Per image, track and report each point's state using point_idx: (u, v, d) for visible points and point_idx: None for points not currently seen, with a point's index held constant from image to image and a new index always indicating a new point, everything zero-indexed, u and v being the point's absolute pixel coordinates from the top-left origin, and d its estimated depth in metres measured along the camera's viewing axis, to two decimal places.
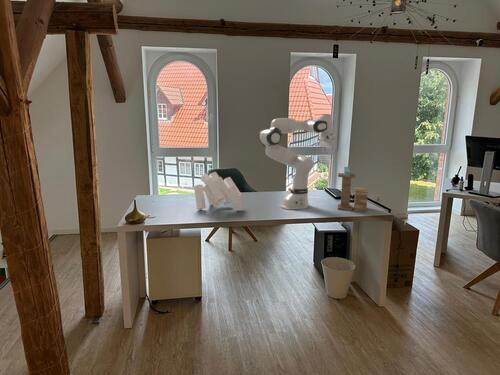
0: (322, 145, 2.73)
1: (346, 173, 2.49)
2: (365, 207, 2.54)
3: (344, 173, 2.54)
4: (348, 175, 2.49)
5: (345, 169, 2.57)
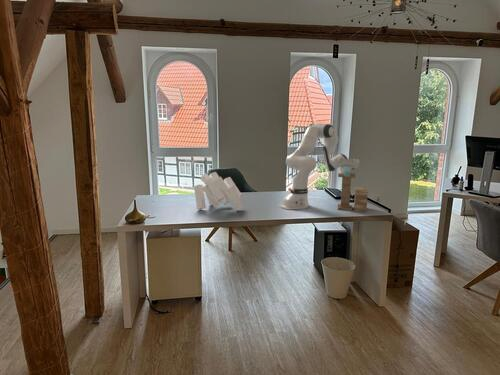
0: None
1: (346, 173, 2.49)
2: (365, 207, 2.54)
3: (344, 173, 2.54)
4: (348, 175, 2.49)
5: (345, 169, 2.57)
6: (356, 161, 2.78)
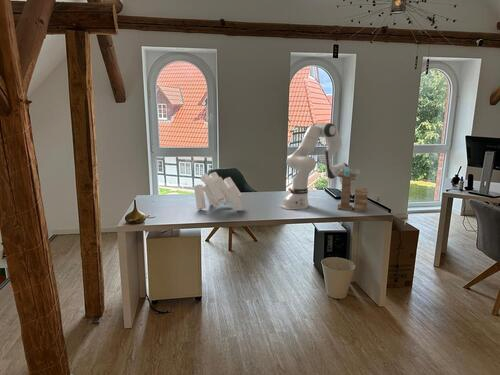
0: None
1: (346, 173, 2.49)
2: (365, 207, 2.54)
3: (344, 173, 2.54)
4: (348, 175, 2.49)
5: (345, 169, 2.57)
6: (356, 172, 2.68)
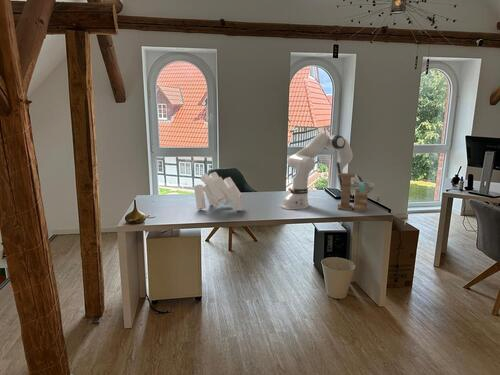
0: None
1: (361, 189, 2.47)
2: (365, 207, 2.54)
3: (359, 189, 2.52)
4: (363, 191, 2.47)
5: (360, 185, 2.55)
6: (371, 185, 2.66)
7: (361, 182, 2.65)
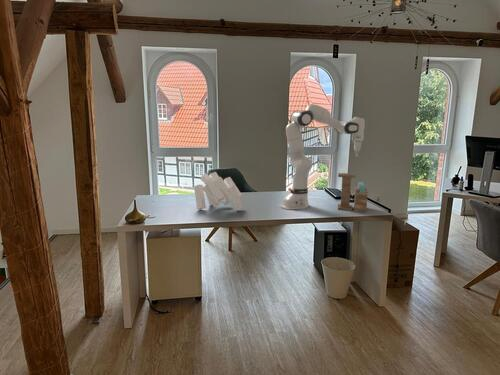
0: None
1: (361, 189, 2.47)
2: (365, 207, 2.54)
3: (359, 189, 2.52)
4: (363, 191, 2.47)
5: (360, 185, 2.55)
6: (357, 151, 2.65)
7: (361, 182, 2.65)
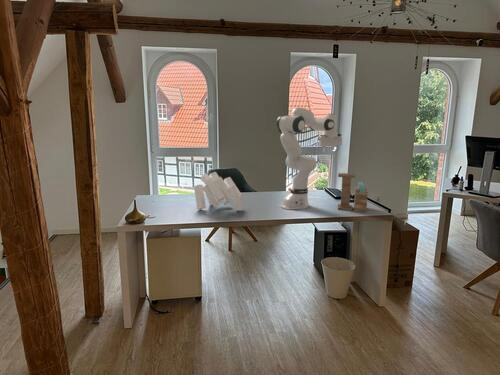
0: (326, 144, 2.78)
1: (361, 189, 2.47)
2: (365, 207, 2.54)
3: (359, 189, 2.52)
4: (363, 191, 2.47)
5: (360, 185, 2.55)
6: (337, 145, 2.84)
7: (361, 182, 2.65)
